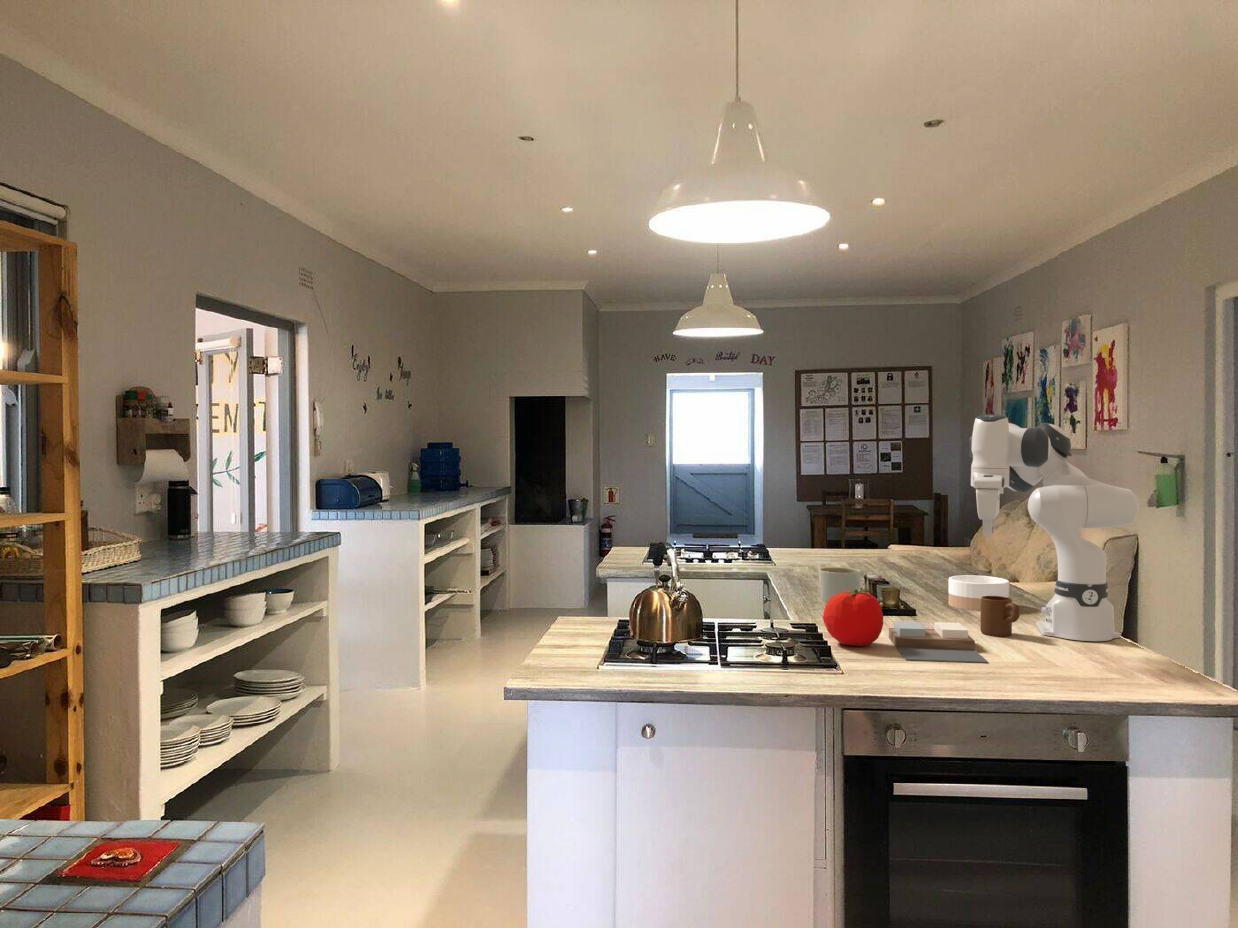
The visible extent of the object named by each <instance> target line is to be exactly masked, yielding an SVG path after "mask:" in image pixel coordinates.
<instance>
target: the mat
mask: <svg viewBox="0 0 1238 928" xmlns="http://www.w3.org/2000/svg"><path fill="white" fill-rule="evenodd" d="M896 649H897V650H898V652H899V653H900V655H901V656H902V657H903V658H904V660H905V661H910V662H911V661H912V662H913V661H914V662H919V661H920V662H939V663H940V662H944V663H946V662H947V663H970V664H971V663H976V664H988V663H989V661H988V660H987V659H986V658H984V657H983V655H981V654H980V653H979V652H978V651H977V650H976V649H975V650H969V649H938V648H907V647H897V648H896Z"/></svg>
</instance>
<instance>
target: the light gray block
mask: <svg viewBox="0 0 1238 928" xmlns="http://www.w3.org/2000/svg"><path fill="white" fill-rule="evenodd" d="M893 628H894V630H895V631H896V632H897V634H898V635H899V636H900V637H925V629H926V628H925V627H924V626H923V625H922V624H921V623H920V622H919V621H908V620H907V621H905V620H904V621H899V620H894V621H893Z"/></svg>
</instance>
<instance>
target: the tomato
mask: <svg viewBox="0 0 1238 928" xmlns="http://www.w3.org/2000/svg"><path fill="white" fill-rule="evenodd" d="M868 590H869V588H866V589H864V590H859V592H858V590H857V589H855V590H854V591H851V592H850V591H846V592H842V593H840V594H837V595H834V596H833V597H832V598H830V600H829V601H828V603H827V604H826V603H825V607H824V610H823V614H822V619H823V623H824V626H825V628H826V630H827V632H828V633H829V635H830V636H831V637H832V638H833V639H835V640H836V641H837V642H838V643H840V644H842V645H845V646H854V647H865V646H869V645H871V644H872V643H874V642H876V640H878V639H879V637H880V635H881V633H882V631H883V626H884V614H883V609H882V606H881V604H880V602H879V601H878V599H877V598H876V597H875V596H874V595H872V593H869V592H866V591H868Z"/></svg>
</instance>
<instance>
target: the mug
mask: <svg viewBox="0 0 1238 928" xmlns="http://www.w3.org/2000/svg"><path fill="white" fill-rule="evenodd" d="M1020 615H1021V610H1020V607H1019V606H1018V605H1017V604H1016V603H1014V602H1013V599H1012V598H1011V597H1009V598H1008V597H1002V596H983V597H981V611H980V632H981V634H984V635H985V636H991V637H1009V636H1011V635H1012V632H1013V630H1012V628H1013V623H1016V622H1017V621H1018V620H1019V619H1020Z"/></svg>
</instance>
